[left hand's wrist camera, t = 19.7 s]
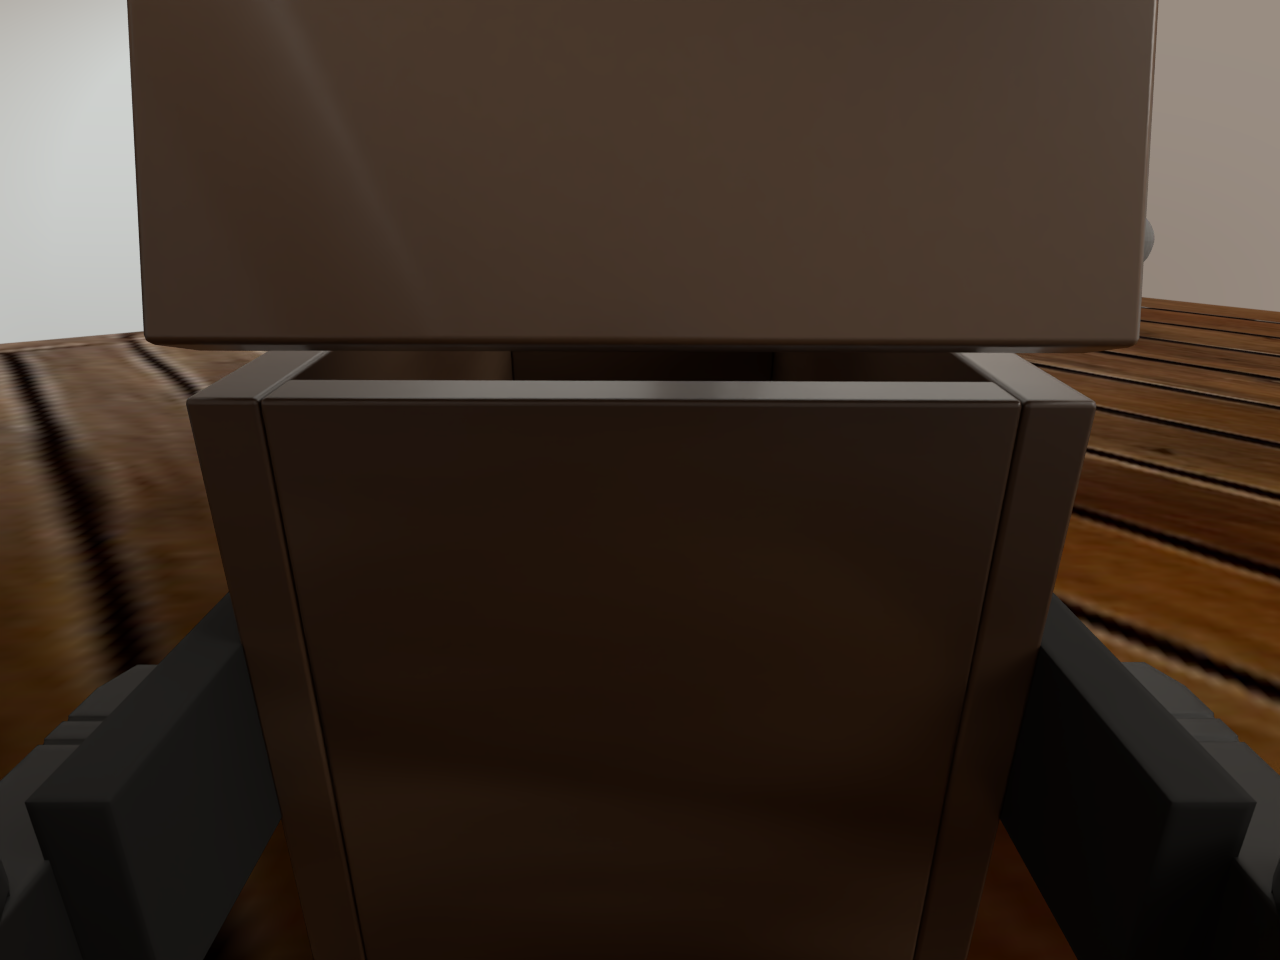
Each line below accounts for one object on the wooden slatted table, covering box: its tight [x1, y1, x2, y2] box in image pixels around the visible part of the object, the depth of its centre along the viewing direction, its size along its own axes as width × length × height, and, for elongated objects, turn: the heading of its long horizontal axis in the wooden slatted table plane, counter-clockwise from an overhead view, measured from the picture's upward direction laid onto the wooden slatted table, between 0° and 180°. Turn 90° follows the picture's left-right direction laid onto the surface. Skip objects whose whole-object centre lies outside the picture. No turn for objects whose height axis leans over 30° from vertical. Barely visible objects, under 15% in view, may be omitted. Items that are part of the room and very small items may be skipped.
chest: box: [186, 351, 1096, 960], centre depth 18 cm, size 17×9×11 cm, turn 0°
